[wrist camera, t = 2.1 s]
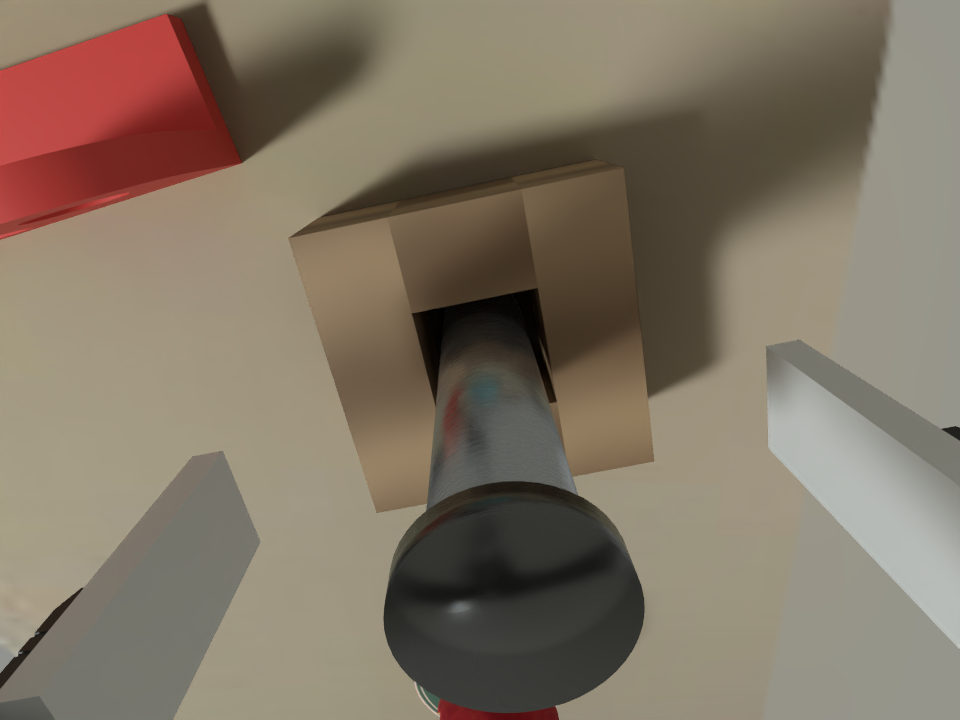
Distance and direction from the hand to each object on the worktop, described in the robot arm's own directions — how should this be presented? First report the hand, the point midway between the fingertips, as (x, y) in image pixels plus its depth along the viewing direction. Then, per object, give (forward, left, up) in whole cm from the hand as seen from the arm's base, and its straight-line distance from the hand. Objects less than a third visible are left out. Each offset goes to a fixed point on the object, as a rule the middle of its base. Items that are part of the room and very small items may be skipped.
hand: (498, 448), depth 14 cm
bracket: (-9, -13, -10) cm, 19 cm away
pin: (0, 0, -9) cm, 9 cm away
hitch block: (0, 0, -9) cm, 9 cm away
